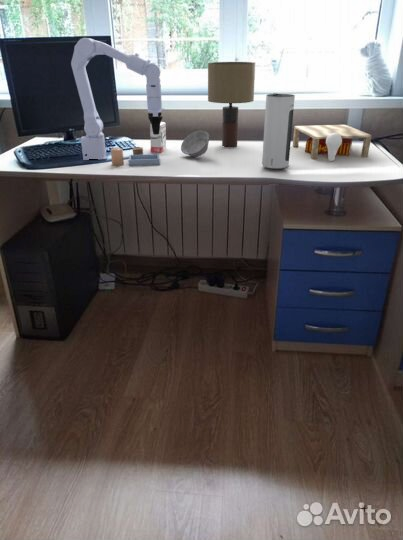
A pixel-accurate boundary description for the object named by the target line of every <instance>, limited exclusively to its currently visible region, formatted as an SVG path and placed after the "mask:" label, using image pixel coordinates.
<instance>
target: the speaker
mask: <svg viewBox="0 0 403 540" xmlns="http://www.w3.org/2000/svg"><path fill="white" fill-rule="evenodd" d="M295 97H296V95H295V94H291V93H278V92H277V93H276V92H274V93H268V94H266V96H265V108H264V109H265V110H264V112H265V113H264V126H263V128H264V129H263V143H262V159H261V160H262V161H261V165H262V167H264V168H267V169H274V170H277V169H278V170H279V169H280V170H281V169H285V168H288V167H289V165H290V156H291V155H290V153H291V145H292V144H291V143H292V142H291V141H292V131H293V121H294V109H295Z"/></svg>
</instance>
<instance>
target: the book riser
mask: <svg viewBox="0 0 403 540" xmlns="http://www.w3.org/2000/svg"><path fill="white" fill-rule="evenodd" d="M293 128H294V129H293V139H292V146H293V147H294V146H298V147H299V141H300V132H301V133H302V134H305V135H307V136H308V137H309V138H310V137H312V138H313V141H312V150H311V152H310V158H311V160H317V159H318V154H319V153H318V146H319V139H326V138H327V137H328V136H329V135H330V134H332V133H337V134H339V135H340V136H341V138H348V139H353V138H355V139H356V138H359V139H360V138H363V144H362V147H361V154H360V156H361V157H362V158H368V157H369V151H370V147H371V142H372V141H371V140H372V134H370V133H367V132H365V131H362V130H360V129H357V128H354V127H353V126H350V125H347V124H321V125H320V124H319V125H314V124H313V125H294V127H293Z"/></svg>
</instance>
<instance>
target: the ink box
mask: <svg viewBox="0 0 403 540" xmlns="http://www.w3.org/2000/svg"><path fill="white" fill-rule="evenodd" d="M149 130H150V131H149V133H150V134H149V135H150V136H149V137H150V153H152V154H153V153H154V154H162V153H163V152H165V150H167V135H166V133H167V129H166V122H164V121H161V123H160V130H159V134H156V135H154V134H153V130H152V125H151V123H150V125H149Z"/></svg>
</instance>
